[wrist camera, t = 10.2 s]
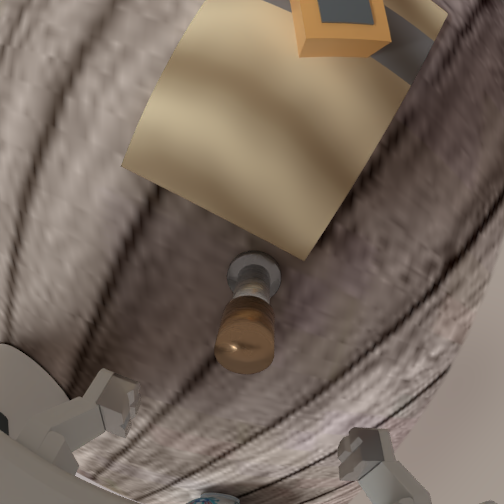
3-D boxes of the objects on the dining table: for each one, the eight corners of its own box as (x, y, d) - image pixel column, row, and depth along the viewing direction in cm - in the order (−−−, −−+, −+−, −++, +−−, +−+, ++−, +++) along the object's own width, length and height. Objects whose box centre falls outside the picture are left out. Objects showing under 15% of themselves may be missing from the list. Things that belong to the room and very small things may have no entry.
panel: (302, 253, 20) (304, 261, 19) (129, 163, 18) (121, 166, 17) (440, 18, 13) (447, 13, 11) (271, -72, 11) (270, -81, 10)
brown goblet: (264, 305, 22) (259, 388, 15) (219, 283, 21) (194, 361, 14) (290, 266, 21) (297, 343, 13) (243, 241, 20) (225, 310, 13)
